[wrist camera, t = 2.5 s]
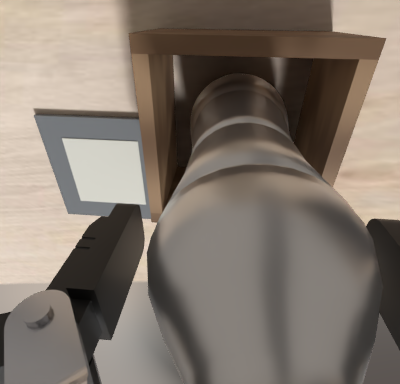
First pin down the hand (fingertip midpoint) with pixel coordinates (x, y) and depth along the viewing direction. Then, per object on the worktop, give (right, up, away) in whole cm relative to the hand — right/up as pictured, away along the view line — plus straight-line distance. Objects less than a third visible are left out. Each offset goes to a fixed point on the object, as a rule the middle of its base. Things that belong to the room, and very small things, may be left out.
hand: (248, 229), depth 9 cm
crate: (+1, +7, +10) cm, 13 cm away
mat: (-10, +3, +14) cm, 17 cm away
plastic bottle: (+1, +7, +10) cm, 13 cm away
